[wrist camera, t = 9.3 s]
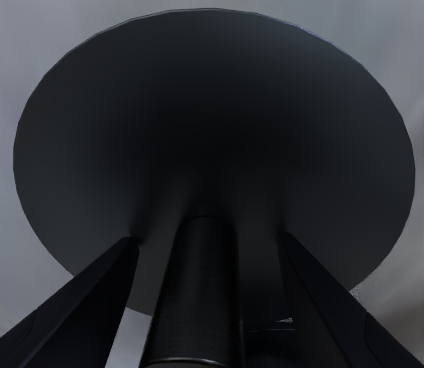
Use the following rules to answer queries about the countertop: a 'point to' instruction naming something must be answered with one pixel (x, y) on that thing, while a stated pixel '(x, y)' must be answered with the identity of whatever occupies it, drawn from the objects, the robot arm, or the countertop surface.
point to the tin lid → (212, 169)
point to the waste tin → (272, 346)
